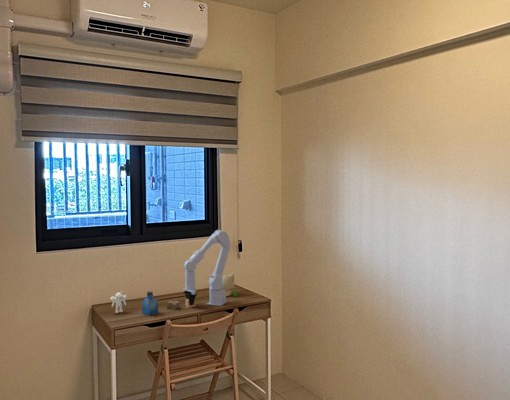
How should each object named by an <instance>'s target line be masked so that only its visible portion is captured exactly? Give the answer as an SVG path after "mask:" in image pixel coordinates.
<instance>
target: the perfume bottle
mask: <svg viewBox="0 0 510 400" xmlns="http://www.w3.org/2000/svg"><path fill="white" fill-rule="evenodd" d="M153 296H154V292H153V291H147V292H146V297H144V299H143V301H142V302H141V312H142V313H141V314H142V315H146V316H149V317H150V316H152V315H153V316H154V315H157V314H159V302H158V300H157V299H156V297H153Z"/></svg>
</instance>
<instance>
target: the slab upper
mask: <svg viewBox="0 0 510 400" xmlns="http://www.w3.org/2000/svg"><path fill="white" fill-rule="evenodd" d="M178 305H179V306H180V301H177V300H170V301H168V302H167V303H166V307H167V306H169V307H176V306H178Z"/></svg>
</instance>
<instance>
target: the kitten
mask: <svg viewBox="0 0 510 400" xmlns="http://www.w3.org/2000/svg"><path fill="white" fill-rule="evenodd" d="M222 277H223V279H222V287H221V289H223V290H225V292H226V297H230V296H231V295H233V297H234V298H235V297H238V296H239V295H238V294H239V289H238V288H237V291H236V293H235V292H234V288H235V287H236V286H235V285H236V284H235V274H234V273H233V272H232V273H230V274H222Z"/></svg>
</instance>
